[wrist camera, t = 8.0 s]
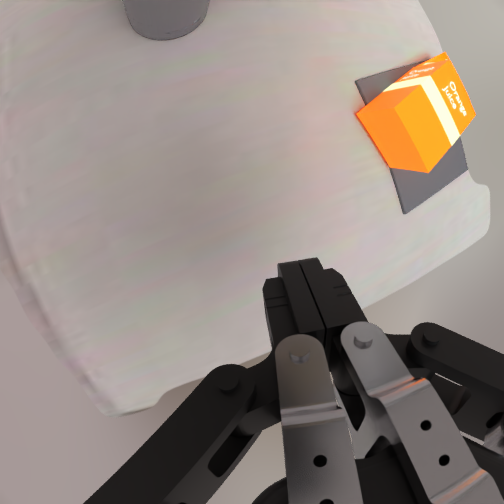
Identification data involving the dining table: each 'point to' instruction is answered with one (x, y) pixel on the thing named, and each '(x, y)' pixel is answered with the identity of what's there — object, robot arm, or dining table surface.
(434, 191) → the mat
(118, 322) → the dining table surface
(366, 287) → the dining table surface
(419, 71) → the orange juice
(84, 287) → the dining table surface
